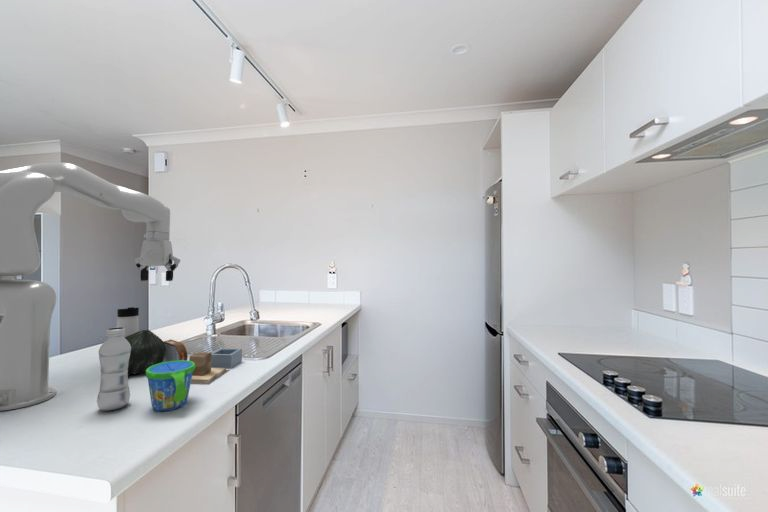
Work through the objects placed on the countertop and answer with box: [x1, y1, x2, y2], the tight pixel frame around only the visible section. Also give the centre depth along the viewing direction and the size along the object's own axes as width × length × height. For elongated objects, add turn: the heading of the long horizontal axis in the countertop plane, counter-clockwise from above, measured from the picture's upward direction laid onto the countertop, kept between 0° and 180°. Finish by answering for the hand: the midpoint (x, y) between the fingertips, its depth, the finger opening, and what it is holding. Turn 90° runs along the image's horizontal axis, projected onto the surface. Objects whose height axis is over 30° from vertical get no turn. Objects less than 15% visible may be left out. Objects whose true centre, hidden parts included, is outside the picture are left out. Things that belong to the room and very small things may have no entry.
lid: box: [188, 351, 227, 383], centre depth 103 cm, size 11×11×7 cm
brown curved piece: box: [163, 339, 189, 362], centre depth 115 cm, size 15×3×8 cm, turn 58°
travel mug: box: [116, 306, 140, 338], centre depth 119 cm, size 6×7×20 cm
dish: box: [211, 348, 243, 370], centre depth 115 cm, size 8×8×5 cm
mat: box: [190, 369, 231, 386], centre depth 103 cm, size 13×13×1 cm
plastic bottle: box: [96, 326, 131, 412], centre depth 81 cm, size 6×7×20 cm
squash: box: [125, 329, 166, 375], centre depth 107 cm, size 14×15×15 cm
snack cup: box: [145, 359, 195, 412], centre depth 83 cm, size 16×10×10 cm
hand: (156, 280), depth 127 cm, fingers open, 9 cm apart
